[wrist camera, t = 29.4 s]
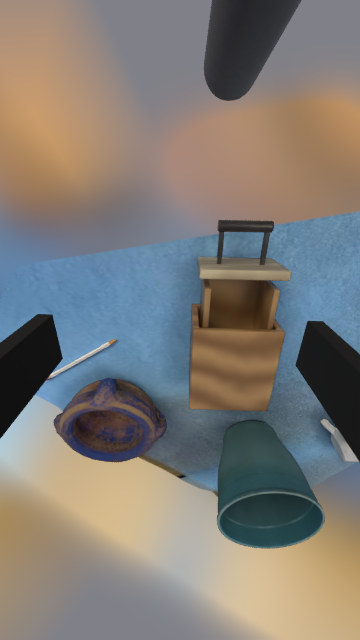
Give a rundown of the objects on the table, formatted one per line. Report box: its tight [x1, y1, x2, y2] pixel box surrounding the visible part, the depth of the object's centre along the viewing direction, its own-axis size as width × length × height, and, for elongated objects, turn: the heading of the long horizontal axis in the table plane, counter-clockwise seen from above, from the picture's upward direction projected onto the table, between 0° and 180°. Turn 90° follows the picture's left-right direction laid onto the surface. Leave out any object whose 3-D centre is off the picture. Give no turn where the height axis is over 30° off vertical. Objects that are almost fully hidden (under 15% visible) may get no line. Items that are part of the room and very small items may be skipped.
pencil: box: [46, 339, 117, 380], centre depth 49 cm, size 1×19×1 cm, turn 121°
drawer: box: [197, 220, 291, 330], centre depth 37 cm, size 19×12×8 cm, turn 179°
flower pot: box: [217, 421, 325, 548], centre depth 50 cm, size 18×18×17 cm
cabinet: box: [189, 304, 285, 411], centre depth 42 cm, size 15×13×10 cm
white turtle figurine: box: [321, 419, 359, 462], centre depth 51 cm, size 9×8×15 cm
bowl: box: [54, 378, 167, 462], centre depth 49 cm, size 18×18×10 cm
